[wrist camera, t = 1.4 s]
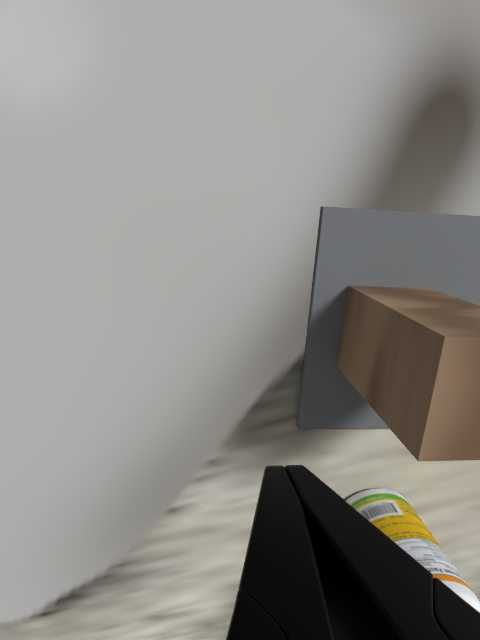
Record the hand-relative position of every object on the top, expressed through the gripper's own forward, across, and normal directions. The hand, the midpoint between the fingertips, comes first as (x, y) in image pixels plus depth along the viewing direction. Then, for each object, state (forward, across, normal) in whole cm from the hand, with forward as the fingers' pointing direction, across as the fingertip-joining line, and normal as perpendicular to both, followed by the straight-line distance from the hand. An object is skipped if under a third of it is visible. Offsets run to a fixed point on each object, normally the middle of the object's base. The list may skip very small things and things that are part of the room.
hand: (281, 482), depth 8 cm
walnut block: (+12, -8, 0) cm, 14 cm away
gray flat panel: (+12, -11, 0) cm, 16 cm away
